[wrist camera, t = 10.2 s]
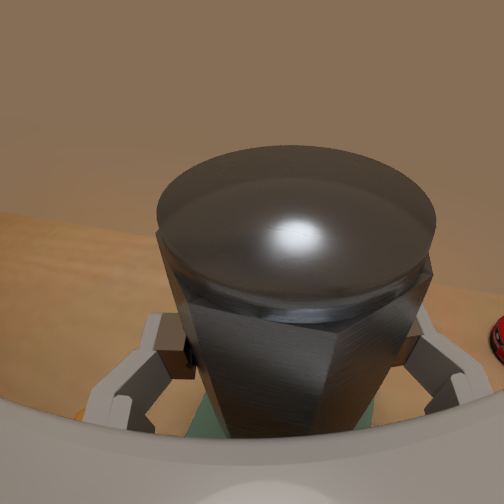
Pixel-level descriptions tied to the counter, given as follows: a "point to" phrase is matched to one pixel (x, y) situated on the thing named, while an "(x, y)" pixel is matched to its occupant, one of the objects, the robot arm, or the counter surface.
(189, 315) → the canister
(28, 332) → the counter surface
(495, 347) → the race car
